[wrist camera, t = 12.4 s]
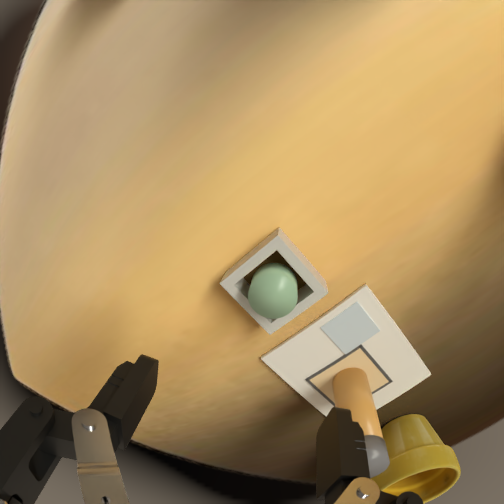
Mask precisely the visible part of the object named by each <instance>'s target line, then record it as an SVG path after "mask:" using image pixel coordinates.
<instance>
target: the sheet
mask: <svg viewBox="0 0 504 504" xmlns="http://www.w3.org/2000/svg"><path fill="white" fill-rule="evenodd" d="M261 360H263V361H264V362H265V363H266V364H267V365H268V366H269V367H270V368H271V369H272V370H273V371H275V372H276V373H277V374H278V375H279V376H280V377H281V378H282V379H283V380H284V381H286V382H287V383H288V384H289V385H290V386H291V387H292V388H293V389H295V390H296V391H297V392H298V393H299V394H300V395H301V396H303V397H304V398H305V399H306V400H307V401H308V402H309V403H311V404H312V405H313V406H314V407H315V408H316V409H318V410H319V411H320V412H321V413H322V414H323V415H325V416H327V415H328V413H329V412H330V410H331V409H332V408H333V407H335V401H334V393H333V386H332V381H333V378H334V377H335V375H336V374H337V373H338V372H340V371H341V370H344V369H346V368H352V367H355V368H360V369H362V370H363V371H364V372H365V373H366V375H367V378H368V381H369V385H370V389H371V392H372V396H373V400H374V404H375V408H376V410H377V409H378V408H380V407H382V406H383V405H385V404H387V403H388V402H390V401H392V400H393V399H395V398H397V397H398V396H400V395H401V394H403V393H405V392H406V391H408V390H409V389H411V388H412V387H414V386H415V385H417V384H418V383H420V382H421V381H423V380H424V379H426V378H427V377H428V376H430V375H431V373H430V371H429V370H428V368H427V367H426V365H425V364H424V362H423V361H422V360H421V358H420V357H419V355H418V354H417V352H416V351H415V350H414V348H413V347H412V345H411V344H410V342H409V341H408V340H407V338H406V337H405V336H404V334H403V333H402V331H401V330H400V329H399V327H398V326H397V324H396V323H395V322H394V320H393V319H392V318H391V316H390V315H389V314H388V312H387V311H386V310H385V308H384V307H383V306H382V304H381V303H380V302H379V300H378V299H377V298H376V296H375V295H374V294H373V292H372V291H371V290H370V289H369V287H368V286H367V285H366V283H365V284H364V285H362V286H361V287H360V288H359V289H357V290H356V291H355V292H353V293H352V294H351V295H349V296H348V297H347V298H345V299H344V300H342V301H341V302H340V303H338V304H337V305H336V306H334V307H333V308H332V309H330V310H329V311H327V312H326V313H325V314H323V315H322V316H320V317H319V318H318V319H316V320H315V321H313V322H312V323H310V324H309V325H308V326H306V327H305V328H303V329H302V330H300V331H299V332H297V333H296V334H294V335H293V336H291V337H290V338H289V339H287V340H286V341H284V342H283V343H281V344H280V345H278V346H276V347H275V348H273V349H272V350H270V351H269V352H267V353H266V354H264V355H263V356H261Z"/></svg>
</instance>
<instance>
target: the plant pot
mask: <svg viewBox="0 0 504 504" xmlns="http://www.w3.org/2000/svg"><path fill="white" fill-rule="evenodd" d="M381 431H382V436H383V439H384V440H385V443H386V447H387V451H388V456H389V460H390V464H389V466H388V468H387V469H386V470H385V471H384V472H382V473H381V474H379V475H377V476H375V477H372V478H371V480H373V481H374V482H375V483H376V484H377V485H378V487H379V489H380V490H381V491H383V492H386V493H389V494H392V495H396V496H399V495H400V494H401V493H403V492H407V491H411V492H414V493H416V494H418V495H419V496H420V497H421V499H422V501H423V504H424V503H426V502H429V501H431V500H433V499H435V498H436V497H438V496H440V495H442V494H443V493H445V492H446V491H447V490H449V489H450V488H451V487H452V486H453V485H454V484H455V483H456V482H457V480H458V479H459V477H460V472H461V470H460V467H459V463H458V460H457V458H456V455H455V453H454V451H453V449H452V448H451V447H449V446H447V445H444V444H443V442H442V441H441V439H440V438H439V437H438V435H437V434H436V432H435V431H434V429H433V428H432V426H431V425H430V424H429V422H428V421H427V419H426V418H425V417H424V416H422V415H418V414H409V415H404V416H401V417H398V418H396V419H394V420H392V421H391V422H389V423H388V424H386V425H385V426H384V427H383V428H382V429H381Z"/></svg>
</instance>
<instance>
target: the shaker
mask: <svg viewBox="0 0 504 504" xmlns="http://www.w3.org/2000/svg"><path fill="white" fill-rule="evenodd" d="M332 386H333V393H334V401H335V407H338V408H344V409H350V410H351V415H352V421H354V422H358V423H359V425H360V426H361V428H362V430H363V431H364V437H365V444H366V451H367V457H368V465H369V472H370V478H372V477H375V476H377V475H379V474H381V473H382V472H384V471H385V470H386V469H387V468H388V466H389V464H390V460H389V456H388V451H387V447H386V443H385V440H384V439H383V436H382V431H381V427H380V423H379V419H378V415H377V411H376V408H375V404H374V400H373V396H372V392H371V389H370V385H369V381H368V378H367V375H366V373H365V372H364V371H363V370H362V369H360V368H355V367H352V368H346V369H344V370H341V371H340V372H338V373H337V374H336V375H335V377H334V378H333V381H332Z"/></svg>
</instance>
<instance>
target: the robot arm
mask: <svg viewBox="0 0 504 504" xmlns="http://www.w3.org/2000/svg"><path fill="white" fill-rule="evenodd" d="M157 375H158V360H156V359H154V358H151V357H148V356H145V355H143V354H142V355H140V357H139V358H138V359H137V361H136V362H135V364H133V363H131V362H128V361H126V362H125V363H123V364H121V365H119V366H118V367H117V368H116V369H115V371H114V372H113V374H112V376H110V378H109V379H108V381H107V383H105V385H104V386H103V388H102V389H101V390H100V392H99V393H98V395H97V396H96V397H95V399H94V400H93V402H92V403H91V405H90V406H89V407H88V408H86V409H81V410H79V411H77V412H75V413H71V412H66V411H61V410H57V409H52V406H51V404H50V403H49V402H48V401H47V400H46V399H44V398H42V397H30V398H28V399H26V400H25V401H24V402H23V403H22V404H21V405H20V407H19V408H18V409H17V410H16V411H15V413H14V414H13V415H12V416H11V418H10V419H9V420H8V421H7V422H6V424H5V425H4V426H3V427H2V429H1V430H0V504H34V503H35V501H36V500H37V498H38V496H39V494H40V493H41V491H42V489H43V488H44V486H45V484H46V483H47V481H48V479H49V477H50V476H51V474H52V472H53V471H54V469H55V467H56V466H57V464H58V463H59V461H60V459H61V458H62V457H64V458H69V459H74V460H77V463H78V468H77V471H78V477H79V482H80V487H81V491H82V496H83V500H84V504H130V502H129V499H128V496H127V493H126V490H125V487H124V484H123V480H122V477H121V474H120V471H119V467H118V465H117V462H116V458H115V454H114V453H115V451H116V449H117V448H119V449H121V450H125V449H126V446H127V445H128V443H129V441H130V439H131V437H132V435H133V433H134V431H135V429H136V428H137V426H138V424H139V422H140V420H141V418H142V416H143V414H144V412H145V410H146V409H147V407H148V405H149V403H150V401H151V399H152V397H153V395H154V393H155V389H156V385H157ZM316 461H317V484H316V491H317V492H316V499H317V500H325V504H423V501H422V499H421V497H420V496H419V495H418V494H416V493H414V492H411V491H407V492H403V493H401V494H400V495H399V496H396V495H392V494H389V493H386V492H383V491H381V490H380V489H379V487H378V485H377V484H376V483H375V482H374V481H373V480H371V478H370V472H369V465H368V457H367V451H366V444H365V437H364V431H363V430H362V428H361V426H360V425H359V423H358V422H354V421H352V415H351V410H350V409H344V408H338V407H333V408H332V409H331V410H330V412H329V413H328V415H327V416H326V418H325V420H324V421H323V423H322V424H321V426H320V427H319V429H318V432H317V437H316Z"/></svg>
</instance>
